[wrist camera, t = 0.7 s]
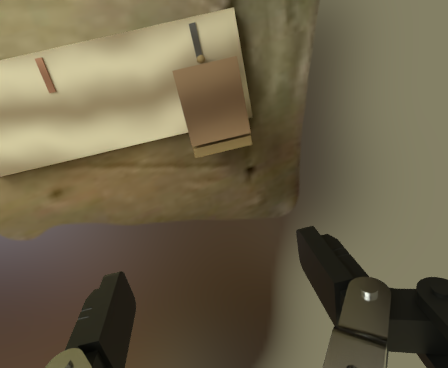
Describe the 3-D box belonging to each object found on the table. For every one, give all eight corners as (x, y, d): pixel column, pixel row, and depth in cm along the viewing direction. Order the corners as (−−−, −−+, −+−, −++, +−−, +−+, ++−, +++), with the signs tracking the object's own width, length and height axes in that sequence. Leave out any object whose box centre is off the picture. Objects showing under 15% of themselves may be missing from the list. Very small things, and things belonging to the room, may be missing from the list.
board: (-59, 76, 28) (-79, 77, 26) (230, 11, 28) (234, 6, 26) (-6, 174, 31) (-19, 181, 29) (249, 114, 32) (253, 117, 30)
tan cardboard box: (173, 61, 28) (169, 60, 22) (223, 50, 29) (235, 45, 22) (193, 139, 31) (195, 159, 25) (239, 128, 32) (252, 145, 25)
